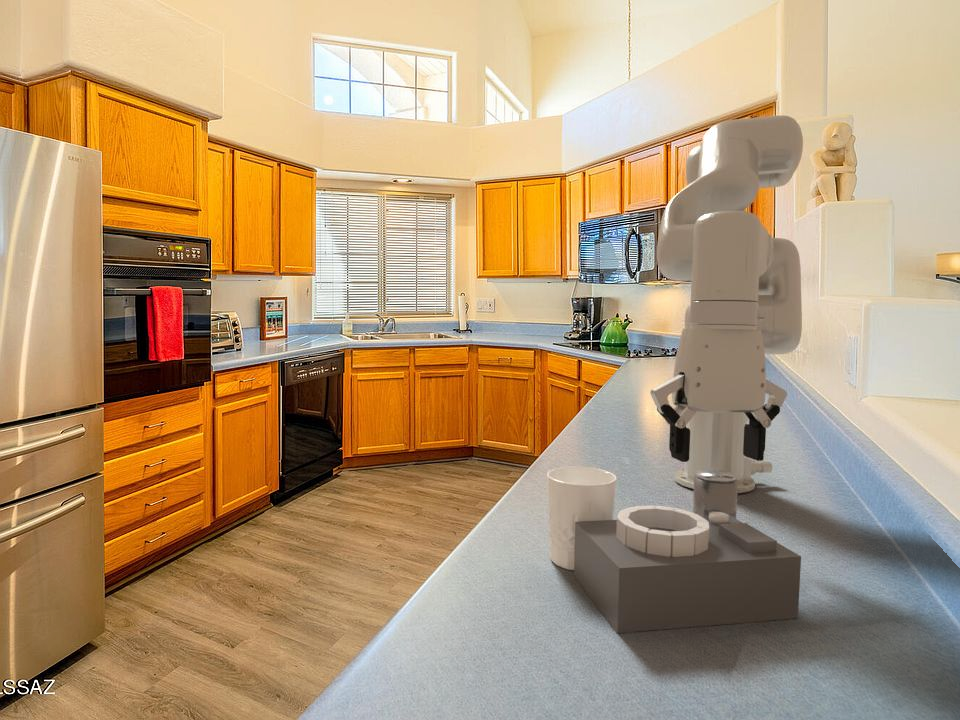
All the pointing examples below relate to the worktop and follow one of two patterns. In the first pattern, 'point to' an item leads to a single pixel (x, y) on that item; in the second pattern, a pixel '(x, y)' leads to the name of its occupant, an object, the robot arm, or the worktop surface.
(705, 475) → the shiny metal cylinder
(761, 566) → the camera body
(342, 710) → the worktop surface
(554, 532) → the white cup
